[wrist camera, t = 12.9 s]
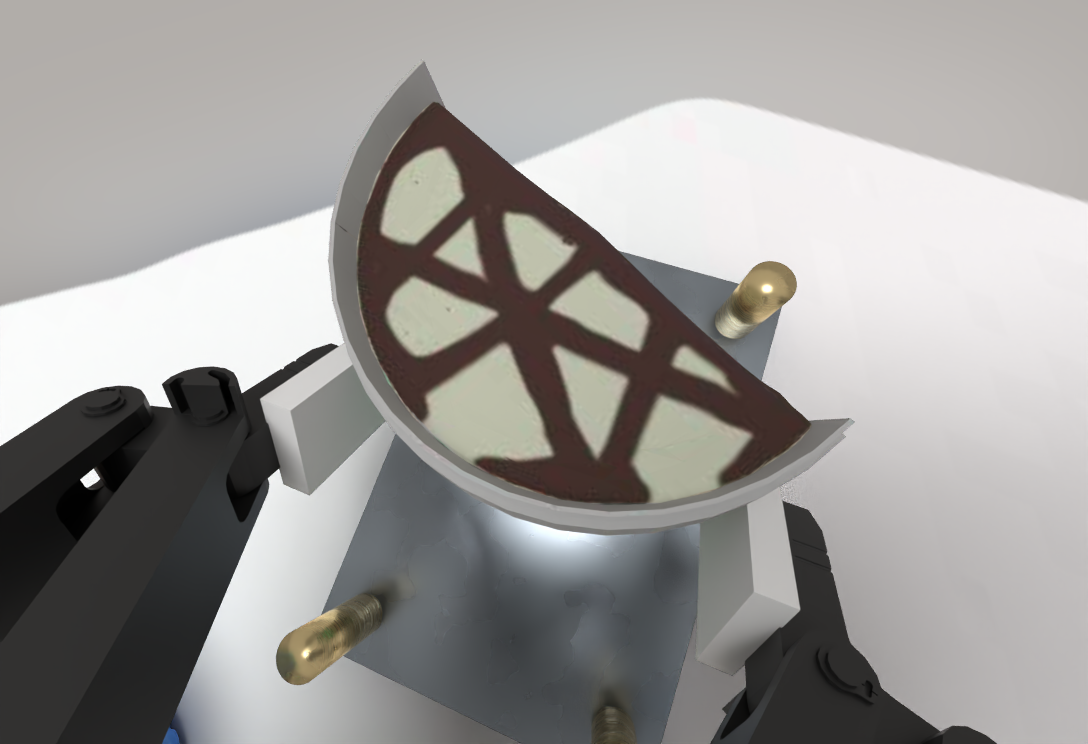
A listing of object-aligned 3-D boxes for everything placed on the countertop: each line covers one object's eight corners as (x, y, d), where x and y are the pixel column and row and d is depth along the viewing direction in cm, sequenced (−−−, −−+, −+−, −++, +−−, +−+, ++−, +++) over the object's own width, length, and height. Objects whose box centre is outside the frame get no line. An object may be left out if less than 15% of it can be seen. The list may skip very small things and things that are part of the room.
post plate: (770, 308, 20) (835, 251, 15) (639, 774, 17) (662, 918, 12) (493, 231, 22) (462, 157, 17) (332, 626, 19) (232, 689, 14)
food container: (396, 352, 19) (193, 228, 9) (499, 257, 19) (406, 46, 10) (598, 577, 16) (609, 739, 6) (713, 460, 17) (884, 445, 7)
